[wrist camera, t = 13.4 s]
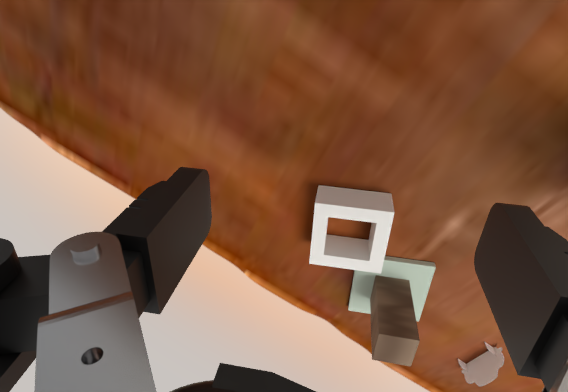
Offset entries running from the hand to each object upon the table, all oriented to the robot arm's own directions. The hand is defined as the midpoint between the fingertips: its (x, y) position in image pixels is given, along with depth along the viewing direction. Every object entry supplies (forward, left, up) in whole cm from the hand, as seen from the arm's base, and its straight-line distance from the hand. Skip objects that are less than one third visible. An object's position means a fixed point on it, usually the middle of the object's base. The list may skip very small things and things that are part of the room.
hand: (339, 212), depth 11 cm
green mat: (-8, +27, -28) cm, 40 cm away
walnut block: (-8, +27, -27) cm, 39 cm away
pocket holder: (-2, +18, -28) cm, 33 cm away
